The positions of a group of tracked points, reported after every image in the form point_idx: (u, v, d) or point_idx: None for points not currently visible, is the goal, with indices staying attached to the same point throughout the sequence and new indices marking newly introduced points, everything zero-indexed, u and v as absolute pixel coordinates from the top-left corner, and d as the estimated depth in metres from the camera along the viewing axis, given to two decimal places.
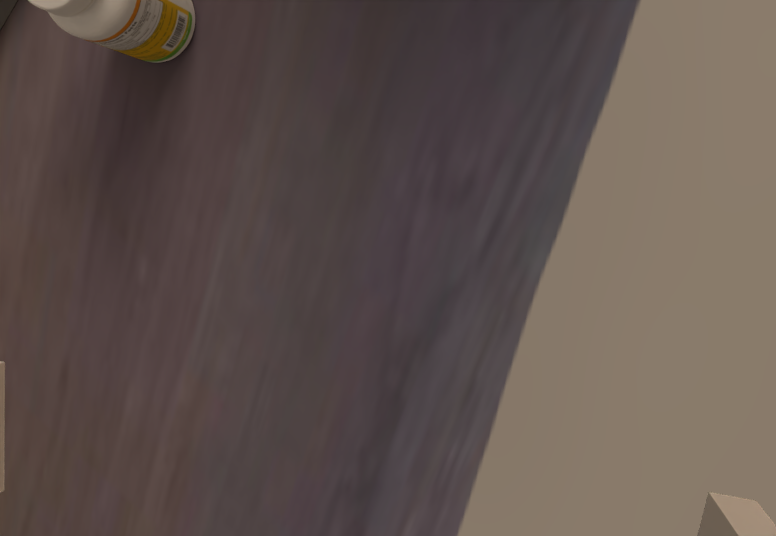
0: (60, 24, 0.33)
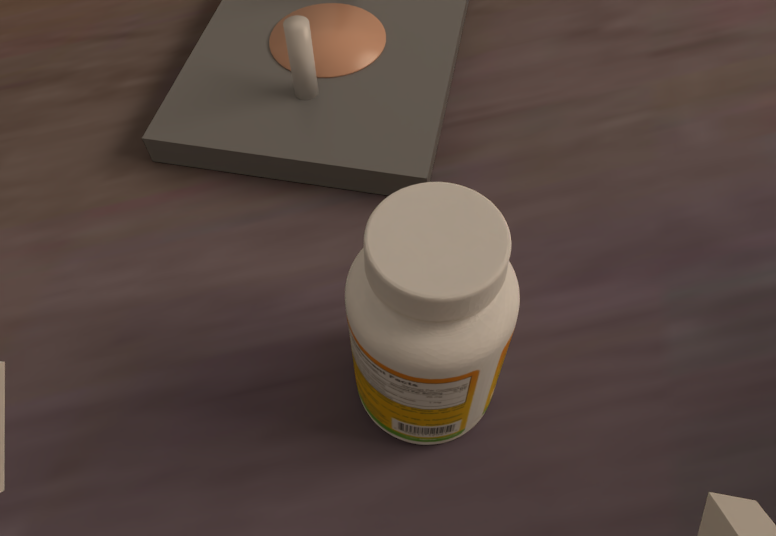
0: (352, 275, 0.19)
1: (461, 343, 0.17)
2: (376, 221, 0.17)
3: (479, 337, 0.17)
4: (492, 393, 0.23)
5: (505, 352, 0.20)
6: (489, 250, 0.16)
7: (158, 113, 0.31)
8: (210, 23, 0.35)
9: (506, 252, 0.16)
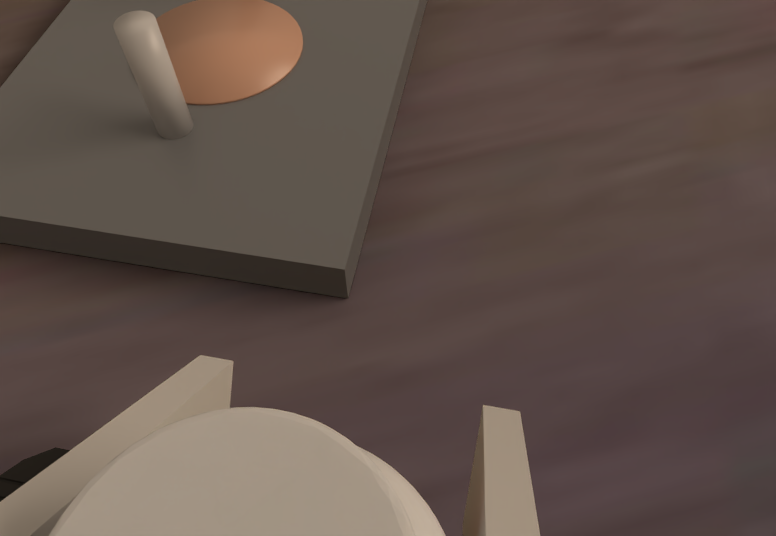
0: None
1: None
2: None
3: None
4: None
5: None
6: None
7: None
8: (53, 25, 0.24)
9: None
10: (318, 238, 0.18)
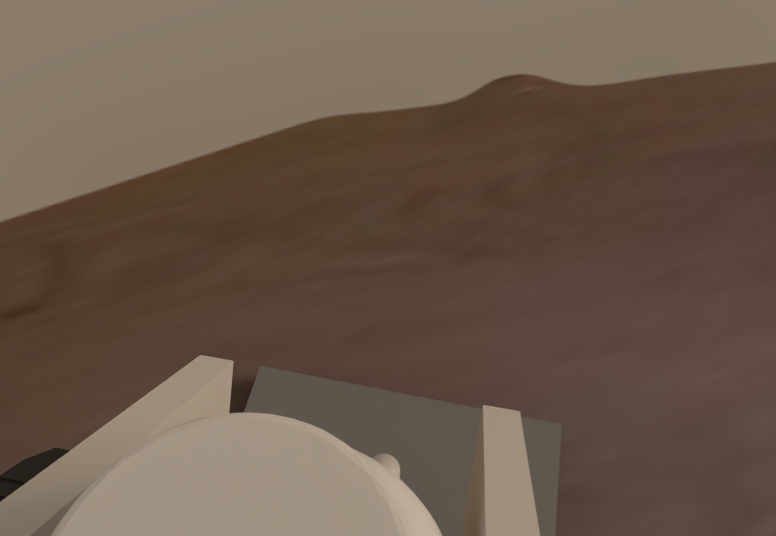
0: None
1: None
2: None
3: None
4: None
5: None
6: None
7: None
8: None
9: None
10: None
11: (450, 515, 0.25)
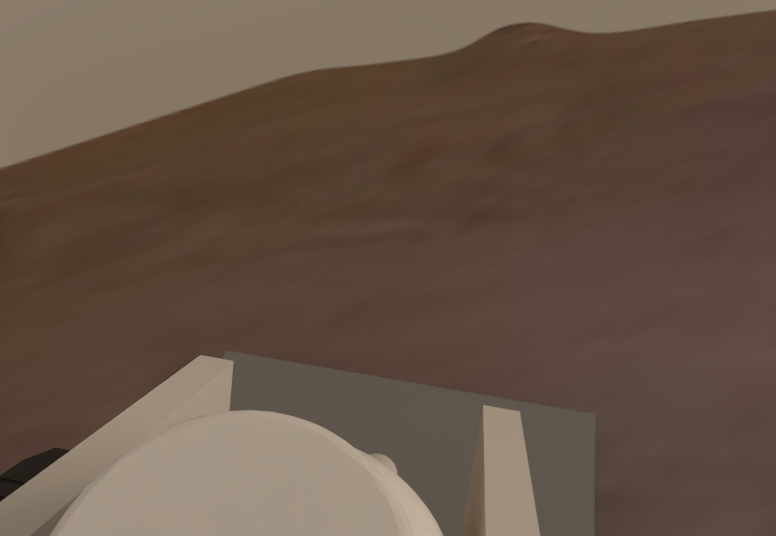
0: None
1: None
2: None
3: None
4: None
5: None
6: None
7: None
8: None
9: None
10: None
11: (461, 529, 0.20)
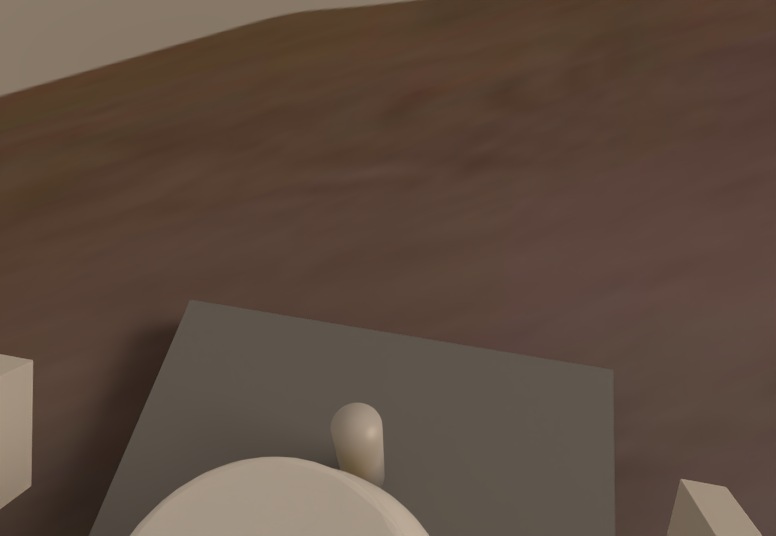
0: None
1: None
2: None
3: None
4: None
5: None
6: None
7: None
8: None
9: None
10: None
11: (459, 499, 0.17)
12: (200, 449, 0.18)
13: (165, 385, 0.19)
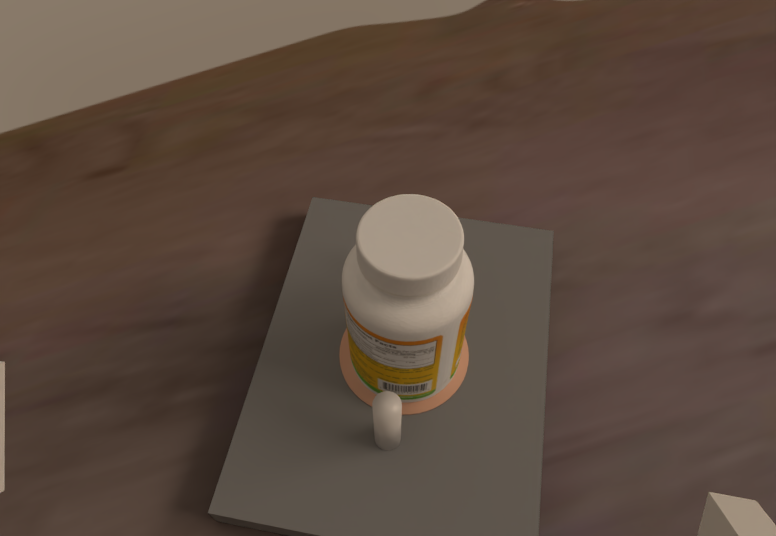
0: (347, 264, 0.25)
1: (428, 313, 0.23)
2: (365, 223, 0.23)
3: (442, 309, 0.23)
4: (457, 361, 0.28)
5: (464, 324, 0.26)
6: (447, 244, 0.22)
7: (223, 472, 0.28)
8: (271, 327, 0.32)
9: (460, 245, 0.22)
10: None
11: None
12: (329, 269, 0.34)
13: (305, 239, 0.35)
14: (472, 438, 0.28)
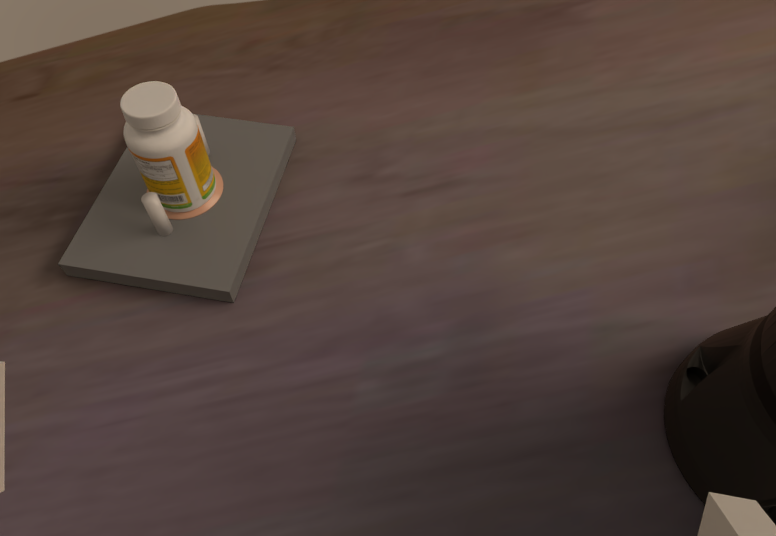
0: (127, 120, 0.47)
1: (160, 142, 0.45)
2: (127, 93, 0.45)
3: (168, 140, 0.45)
4: (204, 187, 0.50)
5: (192, 156, 0.47)
6: (165, 103, 0.44)
7: (69, 245, 0.49)
8: (110, 177, 0.54)
9: (171, 104, 0.44)
10: (220, 279, 0.48)
11: (232, 158, 0.55)
12: None
13: None
14: (213, 230, 0.50)
